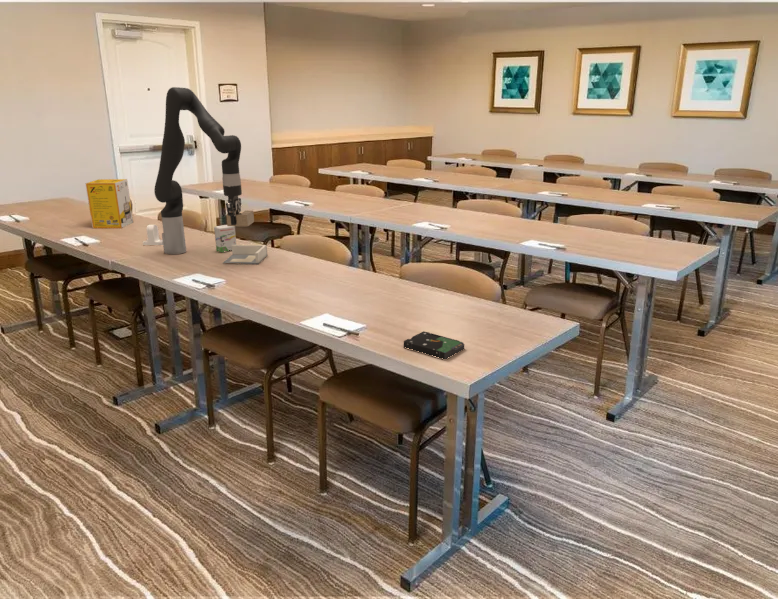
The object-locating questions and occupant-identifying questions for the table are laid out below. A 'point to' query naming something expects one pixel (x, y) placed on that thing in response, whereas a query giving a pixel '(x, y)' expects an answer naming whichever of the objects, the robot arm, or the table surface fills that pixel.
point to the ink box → (224, 237)
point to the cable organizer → (153, 236)
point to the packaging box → (109, 203)
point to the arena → (247, 254)
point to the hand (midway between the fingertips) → (235, 223)
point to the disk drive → (434, 345)
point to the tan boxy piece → (242, 219)
